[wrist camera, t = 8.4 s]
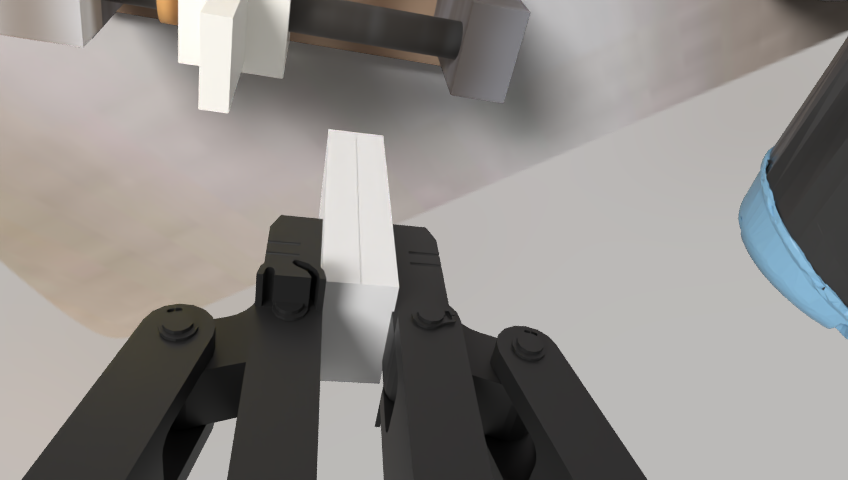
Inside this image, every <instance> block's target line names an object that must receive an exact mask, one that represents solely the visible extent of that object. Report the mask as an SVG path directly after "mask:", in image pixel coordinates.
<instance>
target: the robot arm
mask: <svg viewBox="0 0 848 480" xmlns="http://www.w3.org/2000/svg"><path fill="white" fill-rule="evenodd" d="M821 1H831V2H834V1H848V0H821ZM739 224H740V229H741V237H742V240H743V243H744V245H745V247H746V249H747V251H748V253H749V255H750V257H751V258H752V260H753V261H754V263H755V264H756V266H757V267H758V268H759V270H760V271H761V272H762V273H763V275H764V276H765V277H766V278H767V279H768V280H769V281H770V283H771V284H772V285H773V286H774V287H775V288H776V289H777V290H778V291H779V292H780V293H781V294H782V295H783V296H785V297H786V298H787V299H788V300H789V301H790V302H791V303H792V304H793V305H795V306H796V307H797V308H798V309H800V310H801V311H802V312H803V313H805V314H806V315H807V316H809V317H810V318H812V319H813V320H815V321H816V322H818V323H820V324H821V325H822V326H824V327H826V328H829V329H831V328H834V327H835V328H837V330H839V331H840V333H841V334H842V335H843V336H844V337H845V338H846V339H848V37H847V39H846V40H845V42H844V43H843V45H842V46H841V48H840V49H839V51H838V52H837V54H836V55H835V57H834V58H833V60H832V61H831V63H830V64H829V66H828V68H827V69H826V70H825V72H824V73H823V75H822V76H821V78H820V79H819V81H818V82H817V84H816V85H815V87H814V88H813V90H812V91H811V93H810V94H809V96H808V97H807V99H806V100H805V102H804V103H803V105H802V106H801V108H800V109H799V111H798V112H797V113H796V115H795V116H794V118H793V119H792V121H791V122H790V124H789V126H788V127H787V128H786V130H785V131H784V133H783V134H782V136H781V137H780V139H779V140H778V142H777V143H776V145H775V146H774V147H773V148H771V149H770V150H768V152H767V153H766V154H765V156H764V158H763V161H762V164H761V170H760V172H759V174H758V175H757V177H756V179H755V180H754V182H753V184H752V186H751V187H750V189H749V191H748V193H747V194H746V196H745V197H744V199H743V201H742V203H741V206H740V210H739ZM382 371H383V390H382V395H381V400H380V405H379V409H378V414H377V419H376V424H375V427H380V425H381V434H382V452H383V472H384V480H647V478H646V477H645V476H644V474H643V473H642V471H641V470H640V468H639V467H638V465H637V464H636V462H635V461H634V459H633V458H632V456H631V455H630V453H629V452H628V451H627V449H626V447H625V446H624V444H623V443H622V441H621V440H620V438H619V437H618V436H617V434H616V433H615V431H614V430H613V428H612V427H611V425H610V424H609V422H608V421H607V420H606V418H605V416H604V415H603V413H602V412H601V410H600V409H599V407H598V406H597V404H596V403H595V402H594V400H593V399H592V397H591V396H590V394H589V393H588V391H587V390H586V388H585V387H584V386H583V384H582V382H581V381H580V379H579V378H578V376H577V375H576V374H575V372H574V370H573V369H572V367H571V366H570V364H569V363H568V362H567V360H566V359H565V357H564V356H563V354H562V353H561V351H560V350H559V348H558V347H557V345H556V344H555V343H554V342H553V341H552V340H551V339H550V338H549V337H548V336H547V335H545V334H543V333H542V332H540V331H538V330H536V329H532V328H529V327H526V326H513V327H509V328H506V329H504V330H503V331H502V332H501V333H500V334H499V335H498V338H495V337H492V336H489V335H486V334H482V333H479V332H477V331H474V330H472V329H469V328H468V327H466V326H465V325H463V324H461V321H460V318H459V316H458V314H457V312H456V311H454V309H453V308H451V307H450V306H449V304H448V299H447V294H446V289H445V284H444V278H443V273H442V268H441V263H440V258H439V252H438V247H437V242H436V240H435V238H434V237H433V236H432V235H431V234H430V232H429V231H428V230H427V229H426V228H425V227H414V226H404V225H394V224H392V214H391V205H390V195H389V186H388V176H387V167H386V158H385V148H384V139H383V136H382V135H374V134H365V133H357V132H349V131H340V130H332V129H328V138H327V148H326V157H325V166H324V175H323V184H322V193H321V203H320V212H319V219H316V218H306V217H295V216H285V215H281V216H280V217H279V218H278V219H277V220H276V221H275V222H274V223H273V224H272V225H271V226H270V231H269V237H268V244H267V250H266V256H265V262H264V264H262V265H261V266H260V268H259V270H258V272H257V276H256V297H255V303H254V304H253V305H252V306H251V307H250V308H248V309H247V310H246V311H243V312H241V313H239V314H237V315H233V316H229V317H224V318H218V319H213V317H212V316H211V315H210V314H209V313H208V312H207V311H206V310H204V309H202V308H199V307H197V306H194V305H186V304H175V305H168V306H164V307H162V308H159V309H157V310H155V311H152V312H151V313H150V314H149V315H148V316H147V317H146V318H144V319H143V321H142V322H141V323H140V325H139V326H138V327H137V329H136V330H135V331H134V332H133V334H132V335H131V336H130V338H129V339H128V341H127V342H126V343H125V344H124V346H123V347H122V348H121V350H120V351H119V352H118V353H117V355H116V356H115V358H114V359H113V360H112V361H111V363H110V364H109V365H108V367H107V368H106V369H105V371H104V372H103V373H102V375H101V376H100V377H99V378H98V380H97V381H96V382H95V384H94V385H93V386H92V388H91V389H90V390H89V392H88V393H87V394H86V396H85V397H84V398H83V400H82V401H81V402H80V403H79V405H78V406H77V407H76V409H75V410H74V411H73V413H72V414H71V415H70V417H69V418H68V419H67V421H66V422H65V423H64V425H63V426H62V427H61V428H60V430H59V431H58V433H57V434H56V435H55V436H54V438H53V439H52V440H51V442H50V443H49V444H48V446H47V447H46V448H45V449H44V451H43V452H42V454H41V455H40V456H39V458H38V459H37V460H36V461H35V463H34V464H33V465H32V467H31V468H30V469H29V471H28V472H27V473H26V475H25V476H24V477H23V478H22V480H186V479H187V477H188V476H189V473H190V472H191V470H192V468H193V466H194V464H195V462H196V460H197V458H198V456H199V454H200V452H201V450H202V448H203V446H204V444H205V443H206V441H207V439H208V437H209V435H210V433H211V431H212V429H213V425H214V422H218V421H223V420H227V419H231V418H236V417H237V421H236V428H235V434H234V440H233V446H232V453H231V460H230V465H229V471H228V477H227V480H317V451H318V424H319V395H320V381H338V382H358V383H378V384H379V383H380V379H381V374H382Z"/></svg>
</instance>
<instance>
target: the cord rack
mask: <svg viewBox="0 0 848 480" xmlns="http://www.w3.org/2000/svg"><path fill="white" fill-rule="evenodd" d="M116 12H120V13H126V14H132V15H138V16H144V17H150V18H156V19H159V20H160V22H161V23H166V24H172V25H178V0H0V35H4V36H11V37H17V38H24V39H30V40H37V41H43V42H50V43H56V44H63V45H69V46H75V47H82V48H83V47H84V46H85V45H86V44H87V43H88V42H89V41H90V40H91V38H93V37H94V36H95V35H96V34H97V33H98V32H99V31H100V29H101V28H102V27H103V26H104V25H105V24H106V23H107V22H108V20H109V19H110V18H111V17H112V16H113V15H114V14H115V13H116ZM529 16H530V12H529V10H528V9H527V8H526V6H525V5H524V4H523V3H522V1H521V0H291V7H290V17H289V28H288V32H290V39H289V41H294V42H300V43H306V44H312V45H318V46H324V47H330V48H336V49H342V50H348V51H354V52H360V53H366V54H372V55H378V56H384V57H390V58H396V59H402V60H408V61H414V62H420V63H426V64H432V65H438V66H441V68H442V71H443V74H444V77H445V79H446V82H447V85H448V88H449V91H450V94H451V95H453V96H460V97H466V98H472V99H479V100H485V101H491V102H498V103H504V100H505V97H506V94H507V90H508V87H509V83H510V80H511V77H512V73H513V70H514V66H515V63H516V60H517V56H518V53H519V49H520V46H521V43H522V39H523V36H524V32H525V29H526V26H527V22H528V19H529Z"/></svg>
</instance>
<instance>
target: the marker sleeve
mask: <svg viewBox="0 0 848 480" xmlns="http://www.w3.org/2000/svg"><path fill="white" fill-rule="evenodd" d="M290 7H291V0H178V63H183V64H189V65H196V66H199V102H198V109H200V110H207V111H214V112H221V113H229V110H230V107H231V104H232V100H233V97H234V94H235V91H236V87H237V84H238V81H239V78H240V75H241V73H248V74H254V75H261V76H267V77H274V78H280V79H283V76H284V70H285V64H286V58H287V53H288V47H289V39H290V32H288V28H289V17H290Z"/></svg>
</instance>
